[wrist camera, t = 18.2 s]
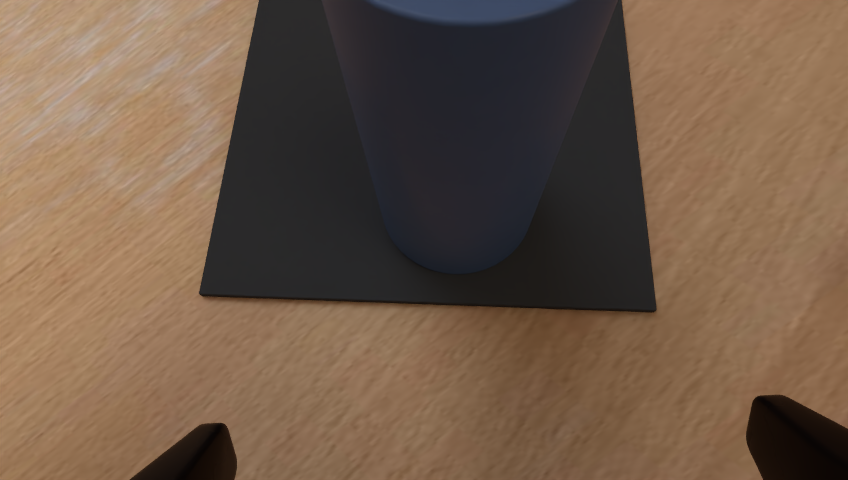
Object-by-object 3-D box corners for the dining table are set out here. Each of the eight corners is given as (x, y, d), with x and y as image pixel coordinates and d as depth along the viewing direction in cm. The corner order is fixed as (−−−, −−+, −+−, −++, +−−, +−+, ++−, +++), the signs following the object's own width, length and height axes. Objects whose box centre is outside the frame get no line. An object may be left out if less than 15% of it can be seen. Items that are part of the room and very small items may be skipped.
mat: (653, 312, 18) (657, 310, 18) (202, 296, 19) (198, 294, 19) (605, -125, 26) (606, -131, 26) (286, -123, 27) (285, -129, 26)
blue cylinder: (483, 304, 18) (546, 85, 7) (352, 225, 19) (225, -68, 8) (558, 181, 20) (707, -160, 9) (432, 115, 21) (418, -257, 10)
